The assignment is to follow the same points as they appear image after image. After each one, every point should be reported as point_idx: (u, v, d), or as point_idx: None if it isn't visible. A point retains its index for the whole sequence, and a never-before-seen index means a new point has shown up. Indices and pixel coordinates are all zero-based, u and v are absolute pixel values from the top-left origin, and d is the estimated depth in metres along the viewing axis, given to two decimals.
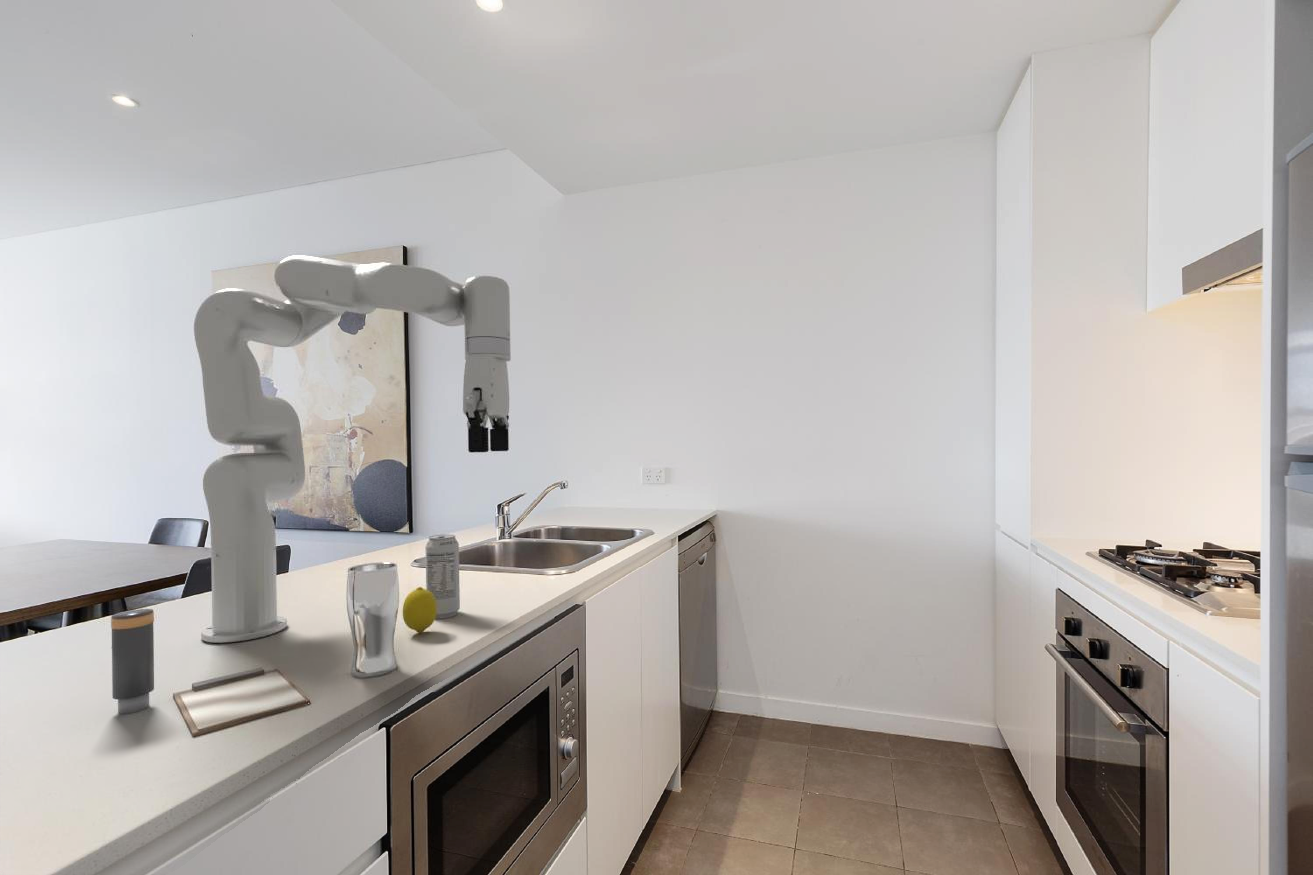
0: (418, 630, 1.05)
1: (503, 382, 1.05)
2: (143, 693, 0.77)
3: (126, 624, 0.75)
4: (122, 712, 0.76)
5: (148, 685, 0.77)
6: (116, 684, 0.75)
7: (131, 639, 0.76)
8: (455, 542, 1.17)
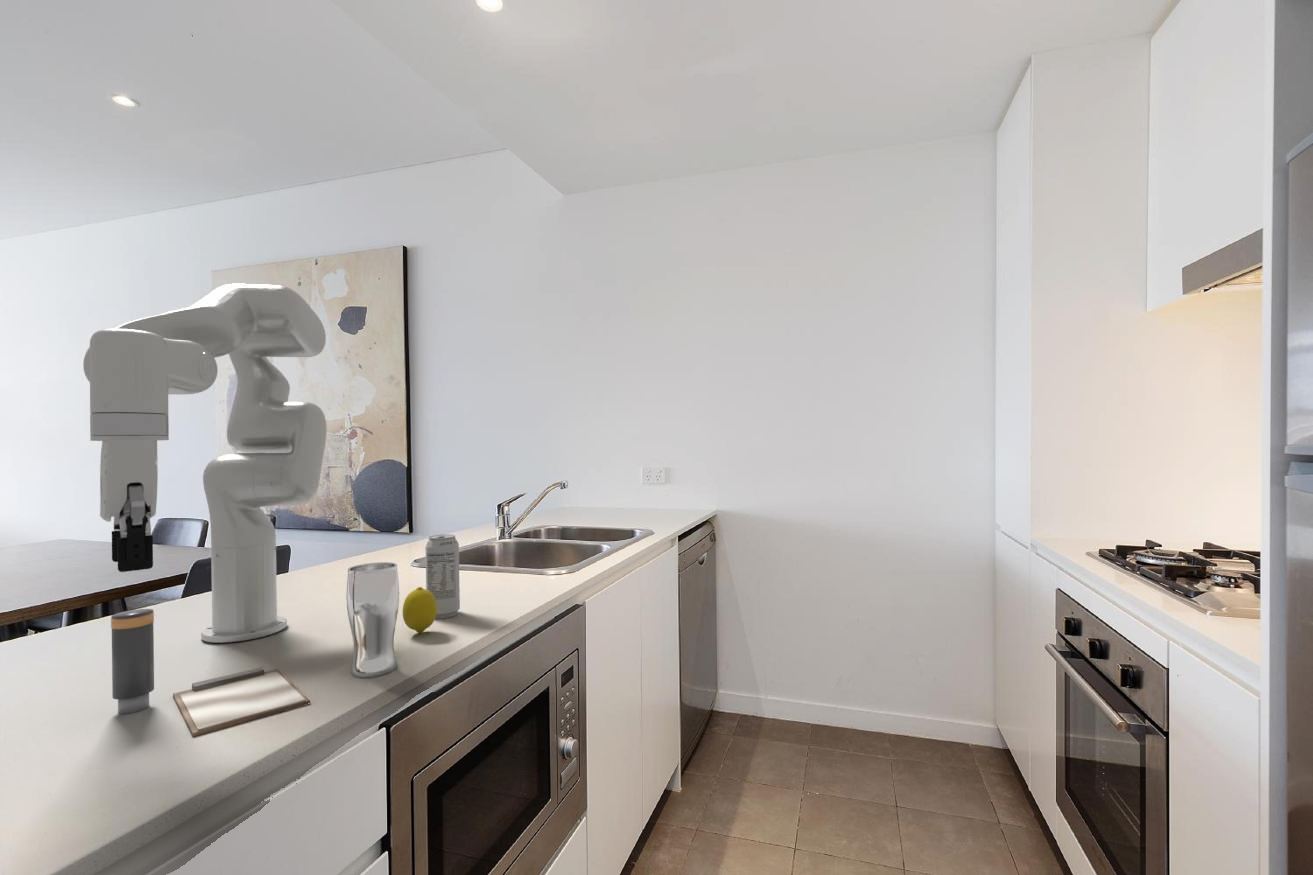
0: (418, 630, 1.05)
1: None
2: (143, 693, 0.77)
3: (126, 624, 0.75)
4: (122, 712, 0.76)
5: (148, 685, 0.77)
6: (116, 684, 0.75)
7: (131, 639, 0.76)
8: (455, 542, 1.17)
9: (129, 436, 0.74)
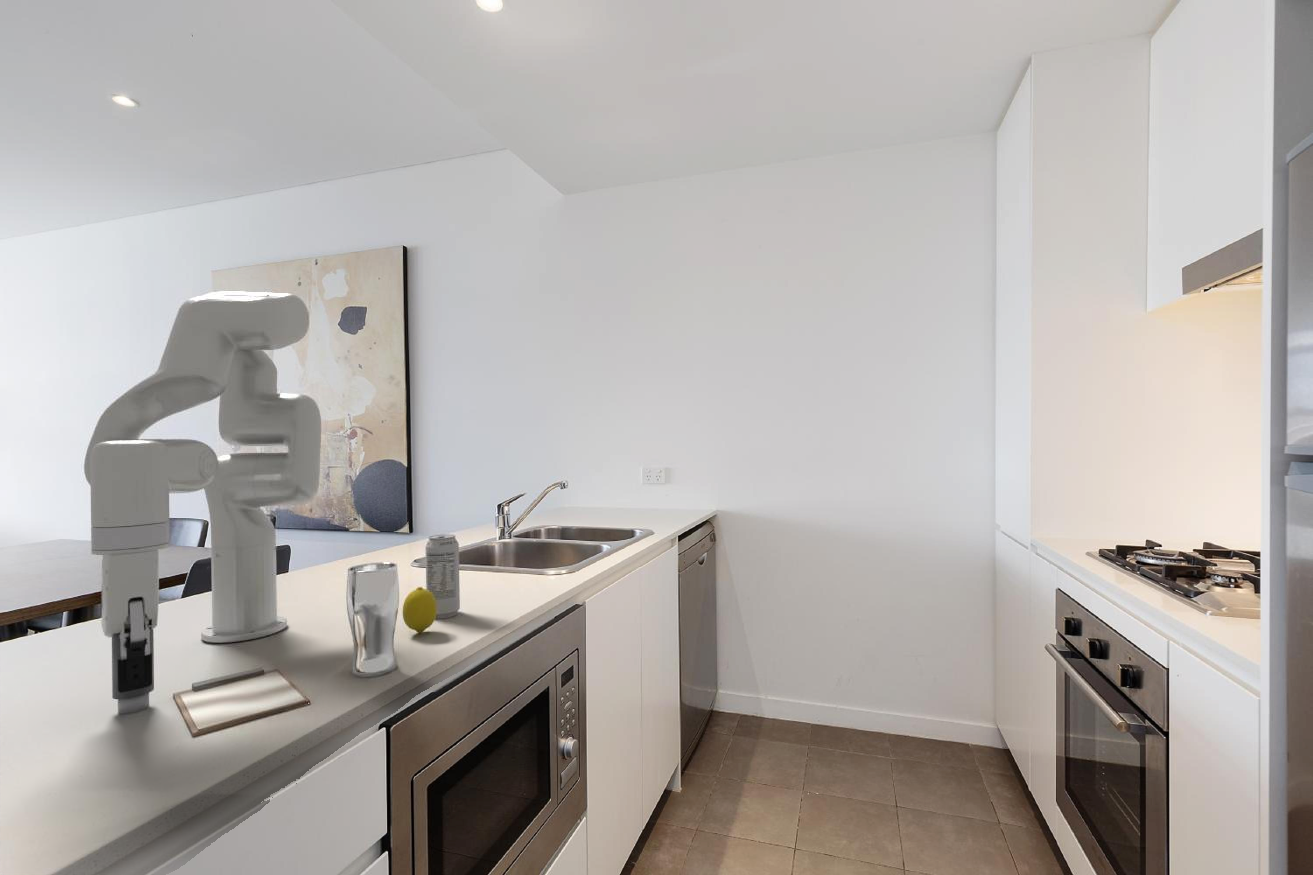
0: (418, 630, 1.05)
1: None
2: (143, 693, 0.76)
3: None
4: (122, 712, 0.76)
5: None
6: (116, 684, 0.75)
7: None
8: (455, 542, 1.17)
9: (130, 550, 0.74)
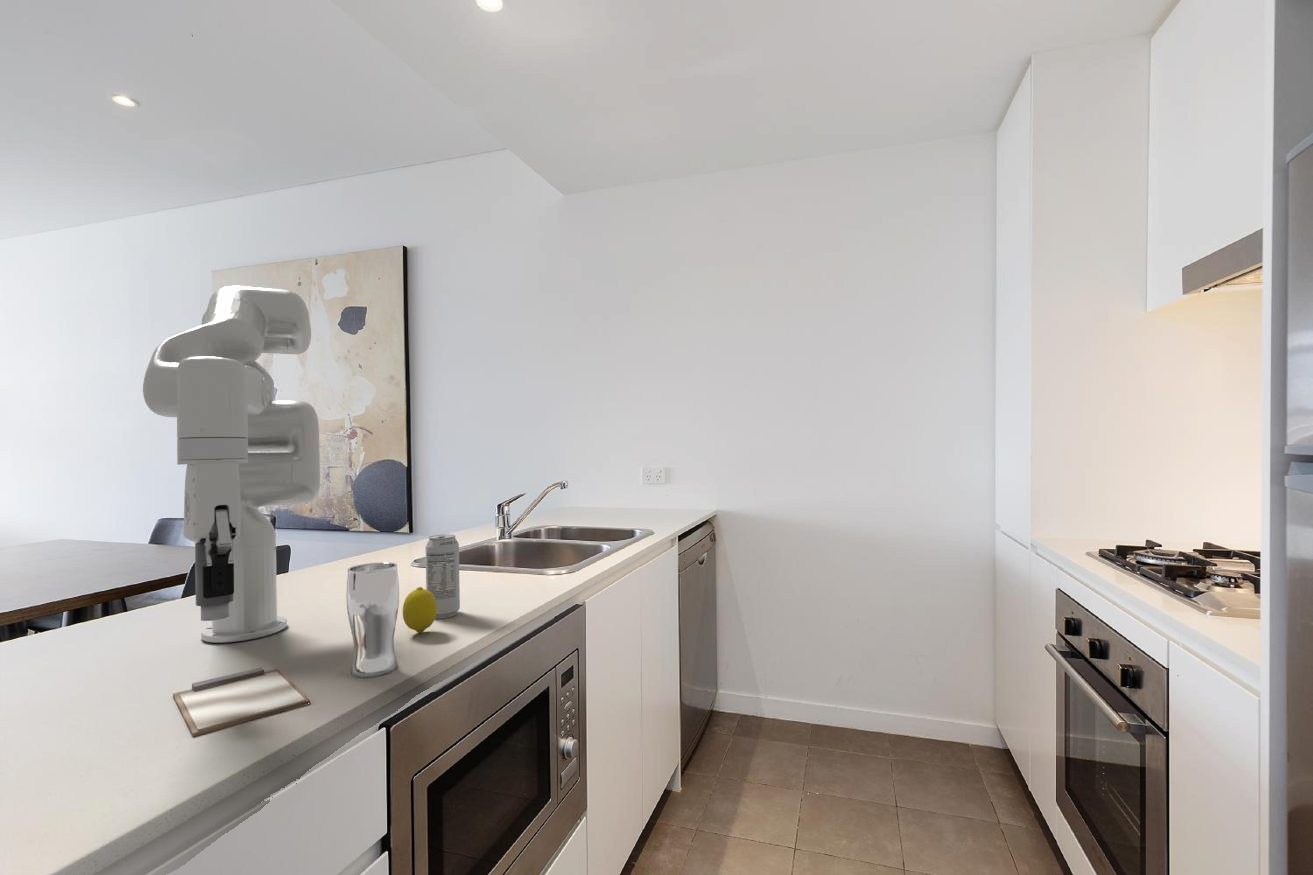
0: (418, 630, 1.05)
1: None
2: (225, 602, 0.79)
3: None
4: (205, 619, 0.78)
5: None
6: (200, 591, 0.78)
7: None
8: (455, 542, 1.17)
9: (215, 460, 0.77)
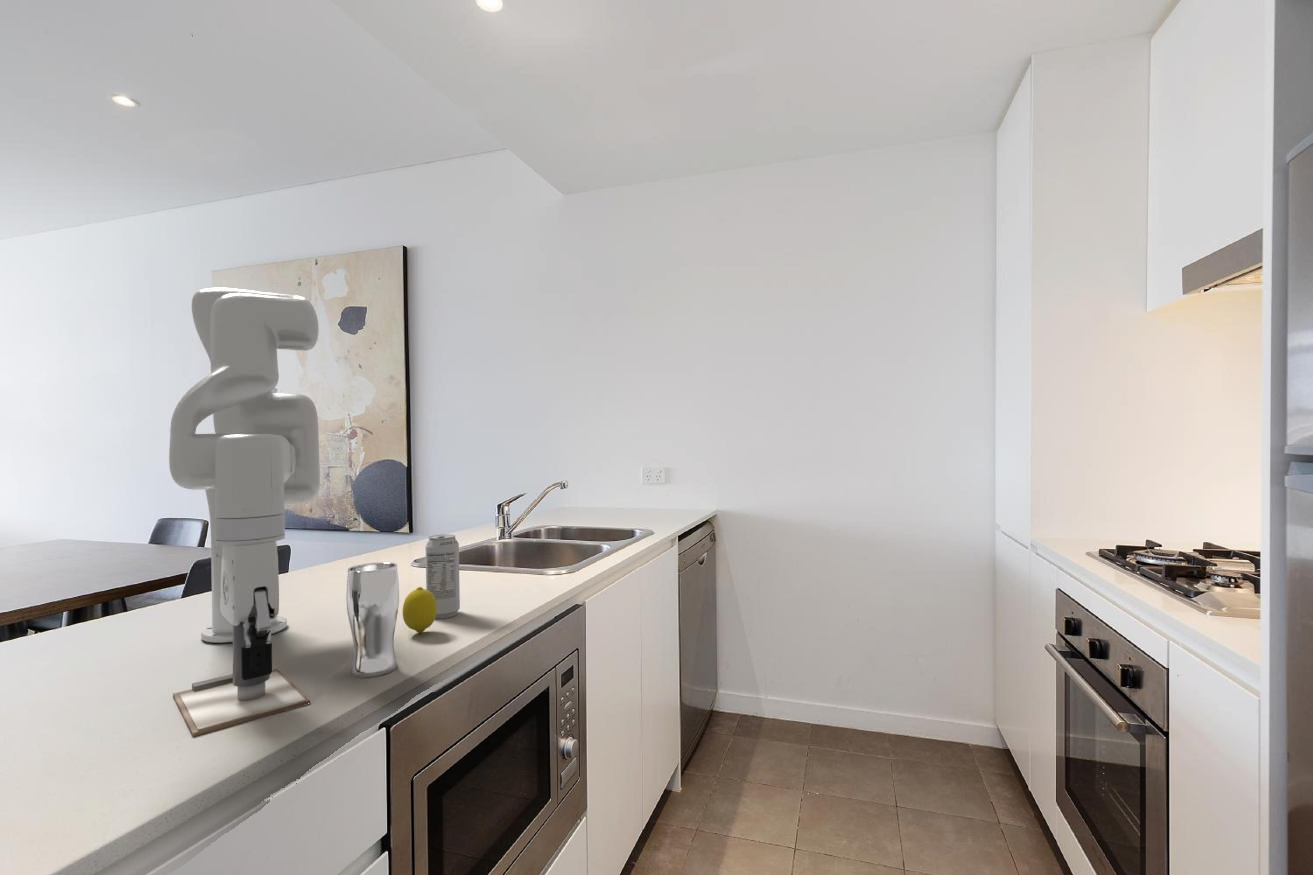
0: (418, 630, 1.05)
1: None
2: (262, 681, 0.78)
3: None
4: (242, 699, 0.77)
5: None
6: (237, 671, 0.77)
7: None
8: (455, 542, 1.17)
9: (254, 540, 0.76)
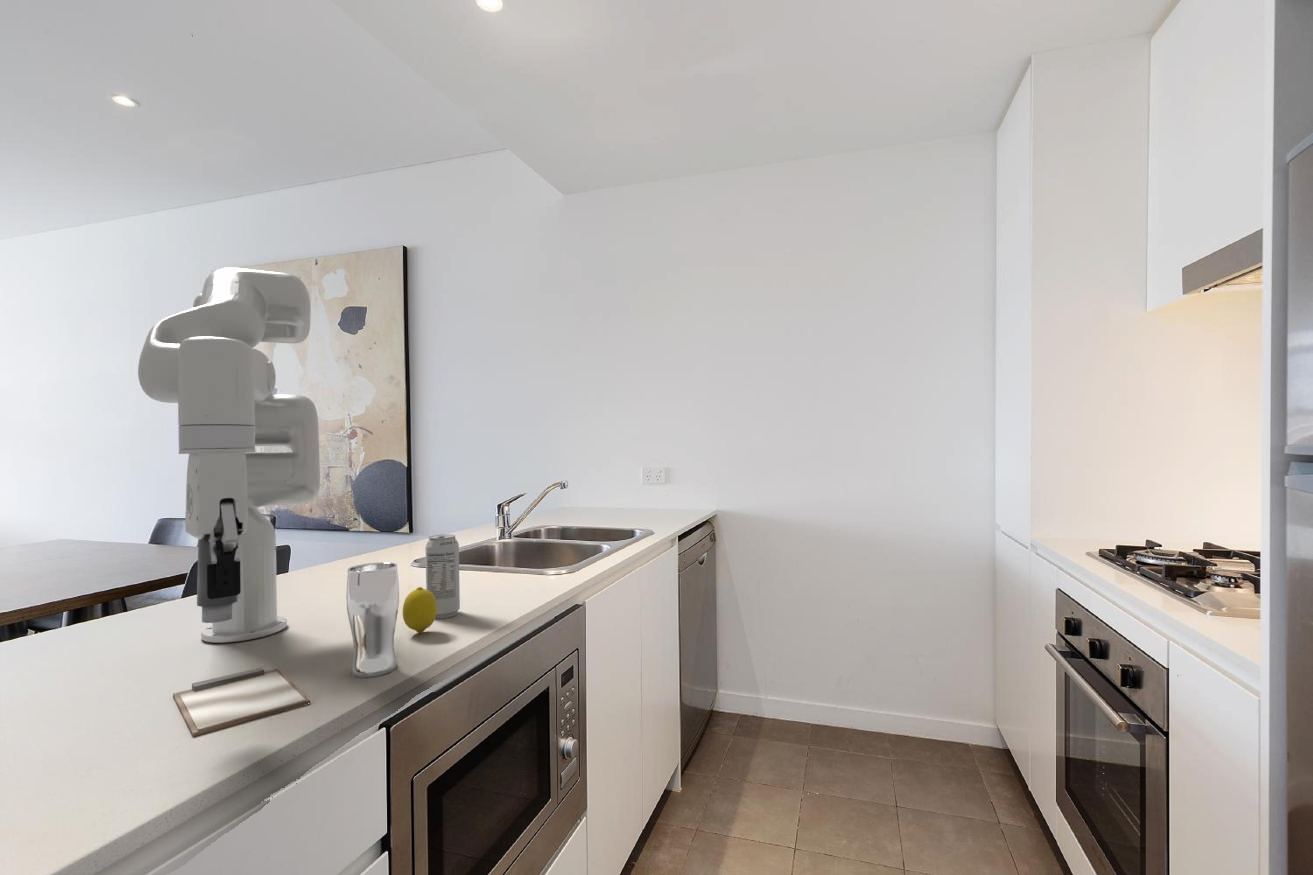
0: (418, 630, 1.05)
1: None
2: (228, 602, 0.73)
3: None
4: (207, 621, 0.72)
5: None
6: (202, 590, 0.72)
7: None
8: (455, 542, 1.17)
9: (220, 449, 0.71)
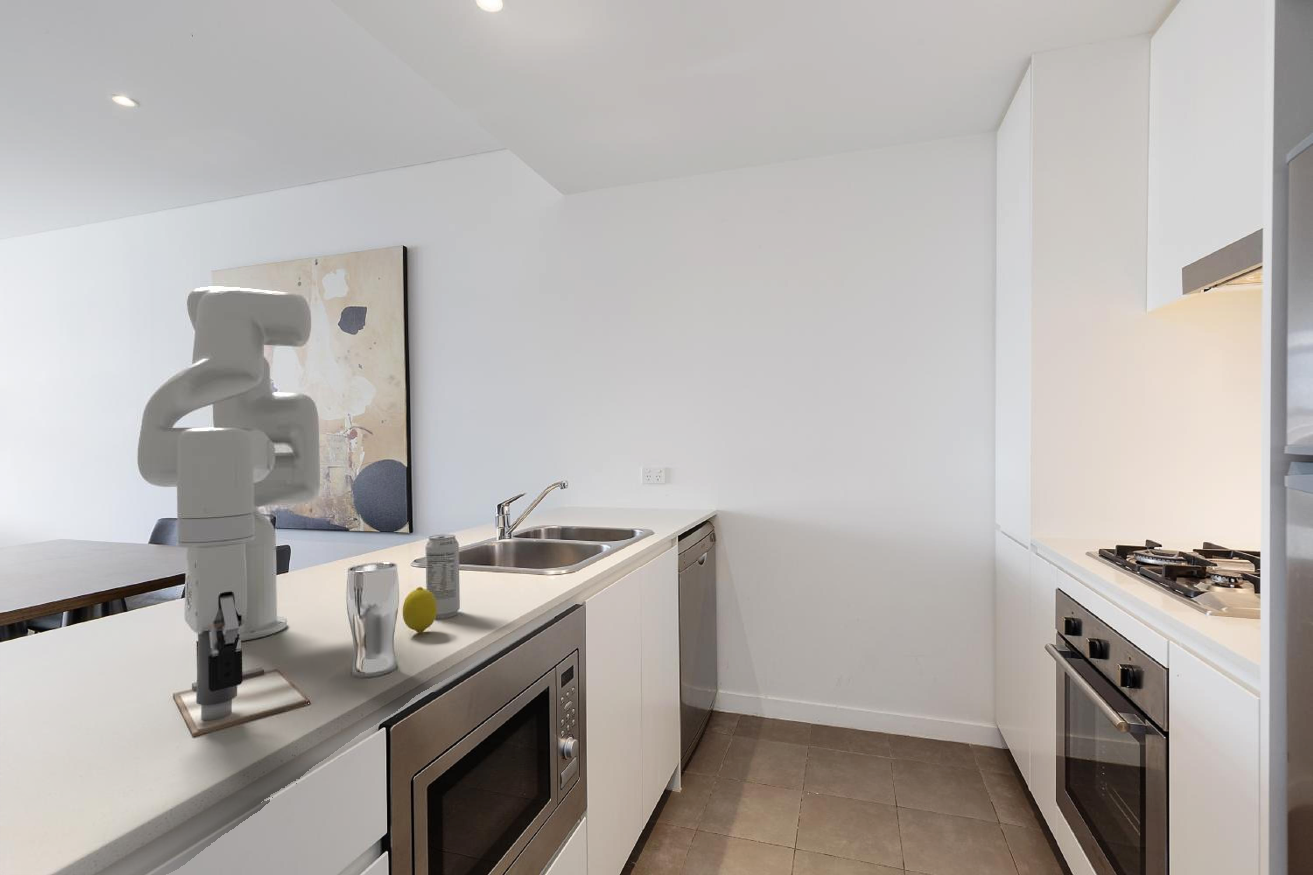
0: (418, 630, 1.05)
1: None
2: (228, 699, 0.73)
3: (214, 626, 0.72)
4: (206, 718, 0.72)
5: (233, 690, 0.73)
6: (201, 688, 0.72)
7: None
8: (455, 542, 1.17)
9: (219, 542, 0.71)
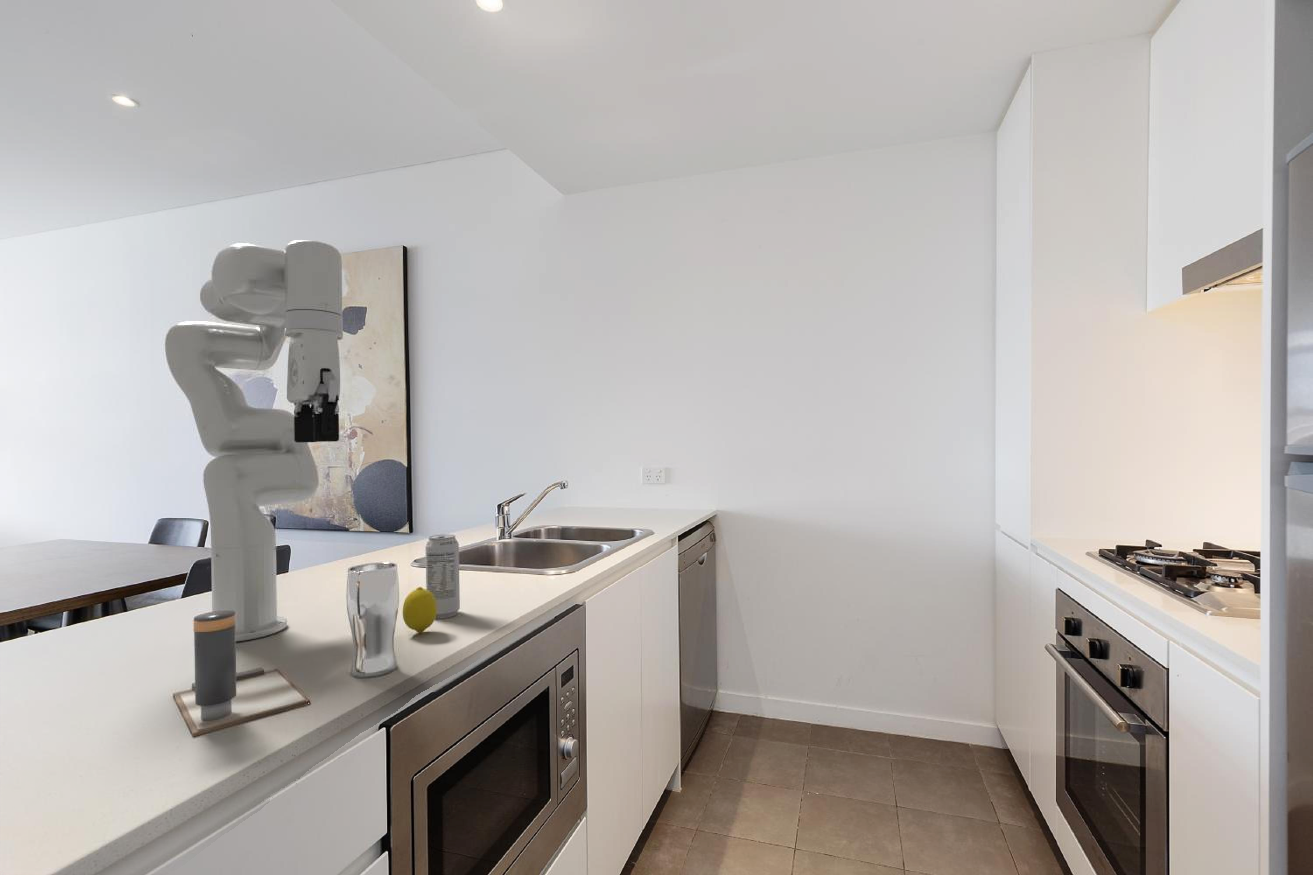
0: (418, 630, 1.05)
1: None
2: (227, 699, 0.73)
3: (210, 627, 0.72)
4: (206, 719, 0.72)
5: (232, 690, 0.73)
6: (200, 689, 0.71)
7: (215, 642, 0.72)
8: (455, 542, 1.17)
9: (319, 330, 0.89)
